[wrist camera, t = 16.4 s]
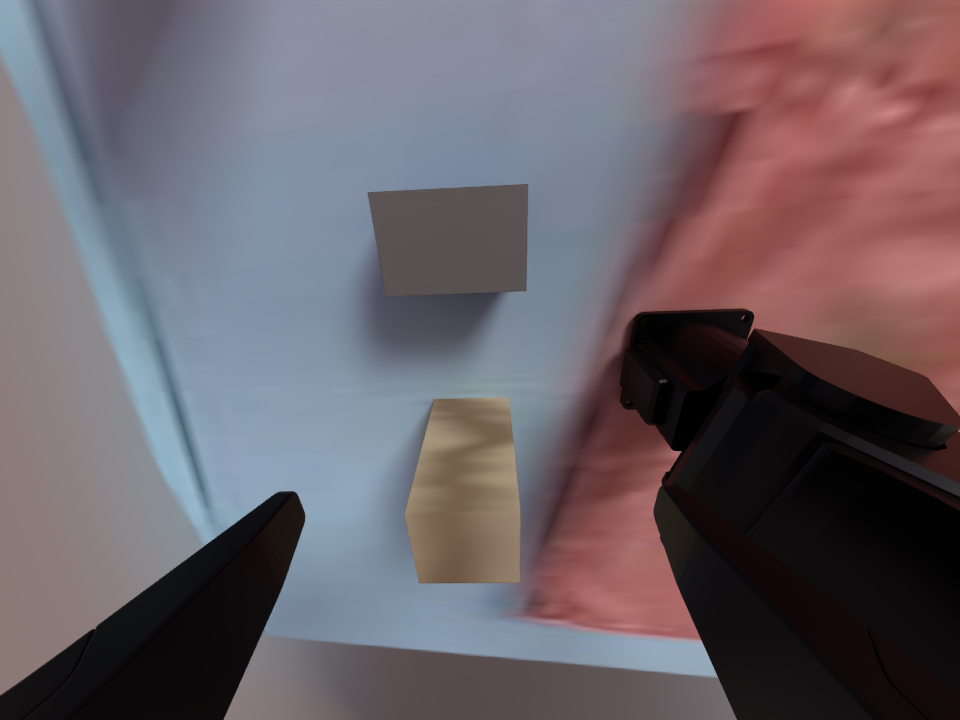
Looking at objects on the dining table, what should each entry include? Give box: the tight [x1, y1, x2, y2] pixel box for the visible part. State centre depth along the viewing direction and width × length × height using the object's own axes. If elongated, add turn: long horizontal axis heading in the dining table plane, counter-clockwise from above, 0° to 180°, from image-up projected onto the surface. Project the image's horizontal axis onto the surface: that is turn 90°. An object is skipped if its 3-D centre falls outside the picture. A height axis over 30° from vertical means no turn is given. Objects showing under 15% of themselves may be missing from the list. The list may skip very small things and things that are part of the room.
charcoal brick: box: [368, 184, 528, 296], centre depth 16 cm, size 6×4×5 cm, turn 93°
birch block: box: [405, 397, 520, 583], centre depth 20 cm, size 5×5×9 cm
